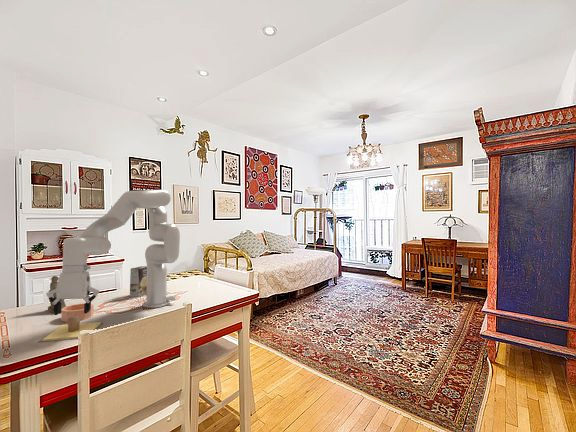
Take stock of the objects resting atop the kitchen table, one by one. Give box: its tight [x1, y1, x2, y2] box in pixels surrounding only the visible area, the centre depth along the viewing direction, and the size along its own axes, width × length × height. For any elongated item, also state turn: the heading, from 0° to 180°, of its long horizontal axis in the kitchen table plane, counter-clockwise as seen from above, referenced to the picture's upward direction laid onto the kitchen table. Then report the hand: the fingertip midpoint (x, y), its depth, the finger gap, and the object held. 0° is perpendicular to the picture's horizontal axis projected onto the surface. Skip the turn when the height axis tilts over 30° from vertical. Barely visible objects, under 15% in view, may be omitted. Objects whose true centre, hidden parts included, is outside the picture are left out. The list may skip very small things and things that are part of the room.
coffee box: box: [129, 265, 147, 298], centre depth 164 cm, size 9×6×16 cm
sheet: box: [42, 316, 102, 341], centre depth 109 cm, size 14×14×6 cm
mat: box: [36, 322, 105, 344], centre depth 109 cm, size 16×16×1 cm
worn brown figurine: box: [47, 275, 67, 315], centre depth 135 cm, size 12×6×18 cm, turn 54°
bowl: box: [60, 302, 94, 323], centre depth 125 cm, size 11×11×5 cm
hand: (72, 313), depth 108 cm, fingers open, 9 cm apart
